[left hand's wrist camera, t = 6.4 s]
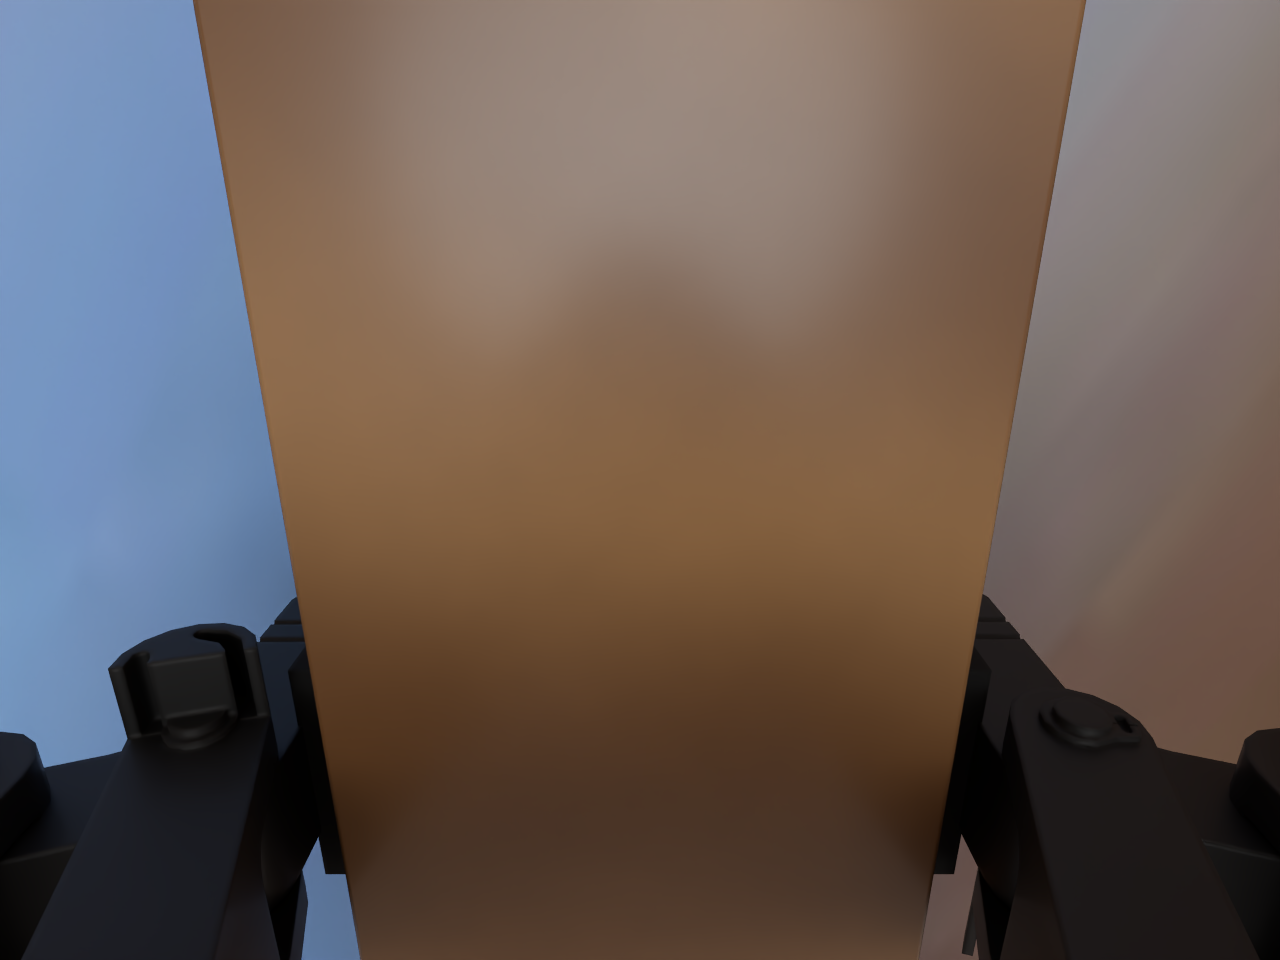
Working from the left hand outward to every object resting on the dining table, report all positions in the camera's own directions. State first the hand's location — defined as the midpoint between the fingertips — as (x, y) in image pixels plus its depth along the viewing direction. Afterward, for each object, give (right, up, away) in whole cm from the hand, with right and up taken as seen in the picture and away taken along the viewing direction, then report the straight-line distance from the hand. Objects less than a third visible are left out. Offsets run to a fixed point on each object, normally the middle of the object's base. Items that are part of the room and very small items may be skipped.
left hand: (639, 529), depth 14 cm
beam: (0, +24, -9) cm, 26 cm away
